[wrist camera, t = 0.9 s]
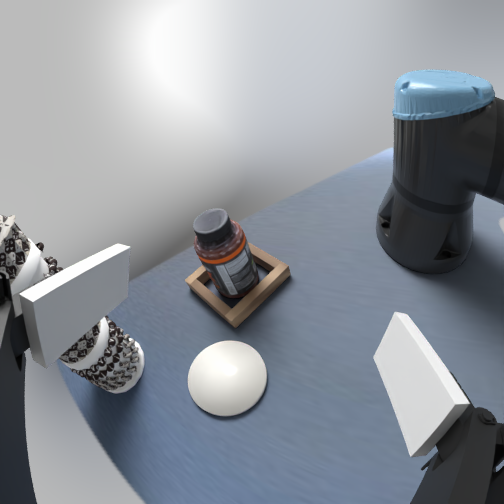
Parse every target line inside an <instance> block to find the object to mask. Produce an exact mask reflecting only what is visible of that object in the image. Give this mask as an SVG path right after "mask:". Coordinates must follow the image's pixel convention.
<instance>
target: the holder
mask: <svg viewBox="0 0 504 504" xmlns="http://www.w3.org/2000/svg"><path fill="white" fill-rule="evenodd" d="M248 245H249V248H250V251H251V253H252V256H253V259H254V262H256V263H257V264H259V265H261V266H262V267H264V268H265V269H267V270H268V271H270V273H269V274H268V275H267V276H266V277H265V278H264V279H263V280H262V281H261V282H260V283H259V284H258V285H257V286H256V287H255V288H254V289H253V290H252V291H250V292H249V293H248V294H247V295H246V296H245V297H244V298H243V299H242V300H241V301H240V302H239V303H238V304H237V305H236V306H235V307H234V308H232V309H231V308H230V307H229V306H228V305H226V304H225V303H224V302H223V301H222V300H220V299H219V298H218V297H217V296H216V295H215V294H213V293H212V292H211V291H210V290H209V289H208V288H206V287H205V286H204V285H203V284H204V283H205V282H207V281H208V280H209V279H210V276H209V274H208V273H207V271H206V269H205V267H204V266H203V265H202V266H201V267H200V268H198V269H197V270H196V271H195V272H194V273H193V274H191V275H190V276H189V277H188V278H187V279H186V280H185V281H186V283H187V284H188V286H189V287H190V288H191V289H192V290H193V291H194V292H195V293H196V294H197V295H198V296H200V297H201V298H202V299H203V300H204V301H205V302H206V303H207V304H208V305H209V306H211V307H212V308H213V309H214V310H215V311H216V312H217V313H218V314H220V315H221V316H222V317H223V318H224V319H225V320H226V321H227V322H229V323H230V324H231V325H232V326H233V327H234V328H237V327H238V326H239V325H240V324H241V323H242V322H243V321H244V320H245V319H246V318H247V317H248V316H249V315H250V314H251V313H252V312H253V311H254V310H255V309H256V308H257V307H258V306H259V305H260V304H261V303H262V302H263V301H264V300H265V299H266V298H267V297H269V296H270V295H271V294H272V293H273V292H274V291H275V290H276V289H277V288H278V287H279V286H280V285H281V284H282V283H283V282H284V281H285V280H286V279H287V278H288V277H289V275H290V270H289V266H288V265H286V264H285V263H283V262H281V261H280V260H278V259H276V258H274V257H273V256H271V255H269V254H268V253H266V252H264V251H262V250H261V249H259V248H257V247H256V246H254V245H252V244H250V243H249V242H248Z"/></svg>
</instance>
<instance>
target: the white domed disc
mask: <svg viewBox="0 0 504 504" xmlns="http://www.w3.org/2000/svg"><path fill="white" fill-rule="evenodd" d="M266 384H267V370H266V366H265V363H264V361H263V359H262V358H261V356H260V355H259V353H258V352H257V351H256V350H255V349H254V348H252V347H251V346H249V345H247V344H245V343H242V342H239V341H222V342H218V343H215V344H213V345H211V346H209V347H207V348H206V349H204V350H203V351H202V352H201V353H200V354H199V355H198V356H197V357H196V358H195V360H194V362H193V363H192V365H191V367H190V370H189V375H188V387H189V391H190V394H191V396H192V398H193V400H194V401H195V402H196V404H197V405H198V406H199V407H201V408H202V409H203V410H205V411H207V412H209V413H211V414H214V415H218V416H234V415H238V414H241V413H243V412H245V411H247V410H249V409H250V408H251V407H253V406H254V405H255V404H256V403H257V402H258V401H259V399H260V398H261V396H262V395H263V393H264V390H265V388H266Z"/></svg>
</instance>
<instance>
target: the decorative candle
mask: <svg viewBox="0 0 504 504" xmlns="http://www.w3.org/2000/svg"><path fill="white" fill-rule="evenodd" d="M14 221H15V216H14V215H11V216H9V217H6V216H3V215H0V270H1V271H5V272H7V273H8V274H9V278H10V286H11V293H12V295H14V294H16V293H18V292H19V291H21V290H23V289H25V288H27V287H29V286H30V285H34V283H36V282H38V281H40V280H42V279H43V278H45V277H47V276H50V275H54V274H57V273H59V272H61V271H63V268H61V267H58V268H57V267H56V266H57V260H55V259H53V257H48V258H45V259H43V258H42V257H41V256H40V250H41V251H43V248H44V245H43V243H38V244H34V243H33V242H32V241H31V240H30V239H27V238H26V236H25V235H24V234H23V232H22V231H21V230H20V229H19V227H18V226H17V225H16V224H15V222H14ZM49 264H50V265H49ZM59 359H60V360H61V361H62V363H64V364H65V365H67V366H68V367H70V369H71V371H72V372H74V373H77V374H78V375H80V376H81V377H85V378H86V379H87V380H88V381H89V382H91V383H93V384H95V385H97V386H98V387H100V388H103V389H104V390H106V391H109V392H112V393H115V394H117V393H122V392H126V391H128V390H129V389H130V388H132V387H133V386H135V384H136V383H137V382H138V380H139V379H140V377H141V376H142V372H143V369H144V365H145V361H144V352H143V350H142V348H141V346H140V345H139V344H138V343H137V342H135V340H134V339H131V338H130V336H129V335H128V334H125V335H123V329H120V328H119V327H118V326H116V324H115V323H114V322H113V321H112V320H109V318H108V316H105V317H104V318H103V319H102V320H100V321H99V322H98V323H97V324H96V325H95V326H93V327H92V328H91V329H90V330H89V331H88V332H87V333H86V334H84V335H83V336H82V337H81V338H80V339H79V340H78V341H77V342H75V343H74V344H73V345H72V346H71V347H70V348H69V349H68V350H67V351H65V352H64V353H63V354H62V355H61V356H60V357H59Z"/></svg>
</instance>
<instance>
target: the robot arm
mask: <svg viewBox="0 0 504 504" xmlns="http://www.w3.org/2000/svg"><path fill="white" fill-rule="evenodd" d="M394 97H395V98H394V108H393V116H394V160H393V179H392V183H391V185H390V187H389V189H388V191H387V193H386V195H385V197H384V199H383V201H382V203H381V205H380V208H379V210H378V215H377V225H376V231H377V236H378V239H379V242H380V244H381V245H382V247H383V248H384V250H385V251H386V252H387V253H388V254H389V255H390V256H391V257H392V258H393V259H394V260H396V261H397V262H398V263H400V264H402V265H403V266H405V267H407V268H410V269H412V270H415V271H418V272H423V273H430V274H438V273H445V272H448V271H451V270H453V269H455V268H457V267H458V266H459V265H460V264H461V263H462V262H463V261H464V260H465V258H466V256H467V254H468V252H469V249H470V247H471V244H472V239H473V202H474V198H475V195H476V193H477V194H480V195H482V196H485V197H487V198H490V199H492V200H494V201H496V202H499V203H501V204H503V205H504V100H502V99H499V98H497V97H495V92H494V90H493V87H492V85H491V84H490V83H489V82H488V81H486V80H484V79H482V78H480V77H476V76H472V75H470V74H467V73H462V72H456V71H448V70H418V71H412V72H409V73H406V74H404V75H402V76H401V77H399V78H398V80H397V81H396V84H395V94H394ZM130 249H131V247H129V246H125V245H122V244H116V245H114V246H111V247H109V248H107V249H105V250H103V251H101V252H99V253H97V254H95V255H93V256H90V257H88V258H86V259H85V260H82V261H80V262H78V263H76V264H74V265H73V266H70V267H68V268H67V269H65V270H63V271H61V272H59V273H57V274H54V275H50V276H47V277H45V278H43V279H42V280H40V281H38V282H36V283H34V285H30V286H29V287H27V288H25V289H23V290H21V291H19V292H18V293H16V294H14V295H12V293H11V286H10V278H9V274H8V273H7V272H5V271H1V270H0V504H37V502H36V498H35V493H34V488H33V483H32V478H31V472H30V467H29V459H28V451H27V442H26V431H25V430H26V429H25V407H24V406H25V404H24V391H25V390H24V389H25V366H26V357H25V353H24V351H26V350H27V349H28V348H29V347H30V350H31V354H32V358H33V360H34V361H36V362H37V363H39V364H40V365H42V366H43V367H45V368H48V367H49V366H50V365H51V364H52V363H53V362H55V361H56V360H57V359H58V358H59V357H60V356H61V355H62V354H63V353H64V352H65V351H67V350H68V349H69V348H70V347H71V346H72V345H73V344H74V343H75V342H77V341H78V340H79V339H80V338H81V337H82V336H83V335H84V334H86V333H87V332H88V331H89V330H90V329H91V328H92V327H93V326H95V325H96V324H97V323H98V322H99V321H100V320H102V319H103V318H104V317H105V316H106V315H107V314H108V313H110V312H111V311H112V310H113V309H114V308H115V307H117V306H118V305H119V304H120V303H121V302H123V301H124V300H125V299H126V298H127V297H128V277H129V262H130ZM373 358H374V360H375V362H376V365H377V367H378V370H379V372H380V375H381V377H382V380H383V382H384V385H385V387H386V390H387V392H388V395H389V397H390V400H391V403H392V405H393V408H394V411H395V413H396V416H397V419H398V422H399V424H400V427H401V430H402V433H403V436H404V439H405V442H406V445H407V448H408V451H409V454H410V457H416V456H425V455H427V454H428V453H429V452H430V451H431V450H432V448H433V447H434V446H435V445H436V447H437V449H438V452H437V453H436V454H435V455H434V456H433V457H432V458H431V459H430V460H429V461H428V462H427V463H426V464H425V465H424V466H423V467H422V468H421V470H424V469H425V468H426V467H428V466H429V467H428V469H427V471H426V473H425V476H424V478H423V480H422V482H421V484H420V486H419V488H418V490H417V492H416V494H415V496H414V497H413V499H412V501H411V503H410V504H504V466H503V467H502V468H501V469H500V470H499V471H497V472H496V467H497V466H498V465H499V464H500V463H501V462H502V461H503V460H504V424H502V423H497V421H496V418H495V417H494V415H493V414H492V413H491V412H490V411H488V410H487V409H484V408H481V407H477V408H474V406H473V404H472V403H471V401H470V400H469V398H468V396H467V395H466V393H465V392H464V390H463V389H461V386H460V384H459V383H457V380H456V378H455V377H454V375H453V374H452V373H451V372H450V371H449V370H448V369H447V368H446V366H445V365H444V364H443V362H442V361H441V359H440V358H439V356H438V355H437V354H436V352H435V351H434V349H433V348H432V347H431V345H430V344H429V343H428V341H427V340H426V339H425V337H424V336H423V334H422V333H421V332H420V330H419V329H418V328H417V327H416V325H415V324H414V323H413V321H412V320H411V319H410V317H409V316H408V315H407V314H403V313H398V312H394V315H393V317H392V319H391V321H390V324H389V326H388V328H387V330H386V332H385V335H384V337H383V339H382V341H381V343H380V345H379V347H378V349H377V351H376V353H375V355H374V357H373Z"/></svg>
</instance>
